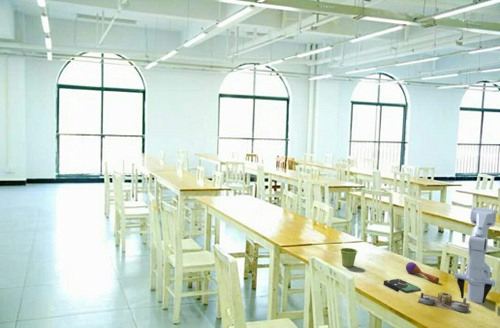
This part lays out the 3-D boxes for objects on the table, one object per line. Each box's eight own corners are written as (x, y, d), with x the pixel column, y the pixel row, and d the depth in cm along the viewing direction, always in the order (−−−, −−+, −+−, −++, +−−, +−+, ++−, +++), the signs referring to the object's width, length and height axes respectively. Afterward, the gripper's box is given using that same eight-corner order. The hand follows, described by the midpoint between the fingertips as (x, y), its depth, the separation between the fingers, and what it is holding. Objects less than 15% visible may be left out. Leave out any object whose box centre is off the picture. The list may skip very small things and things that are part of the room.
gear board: (422, 296, 216) (422, 286, 216) (469, 306, 207) (470, 296, 206) (417, 305, 205) (418, 295, 204) (467, 316, 195) (468, 305, 195)
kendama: (432, 276, 234) (403, 262, 251) (432, 287, 235) (403, 272, 253) (441, 273, 236) (411, 259, 254) (441, 284, 238) (411, 269, 255)
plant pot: (356, 268, 253) (357, 253, 252) (339, 267, 255) (340, 251, 254) (356, 264, 262) (357, 248, 261) (339, 262, 264) (340, 247, 263)
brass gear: (438, 297, 212) (439, 291, 212) (452, 300, 210) (452, 293, 209) (437, 301, 207) (437, 294, 207) (450, 304, 205) (451, 297, 204)
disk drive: (382, 286, 230) (405, 296, 216) (383, 280, 229) (405, 290, 216) (398, 283, 234) (421, 293, 221) (398, 278, 234) (422, 287, 221)
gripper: (454, 265, 186) (452, 298, 187) (495, 273, 178) (492, 307, 180) (457, 261, 192) (454, 293, 193) (496, 268, 185) (493, 301, 186)
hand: (472, 299), depth 187 cm, fingers open, 7 cm apart
